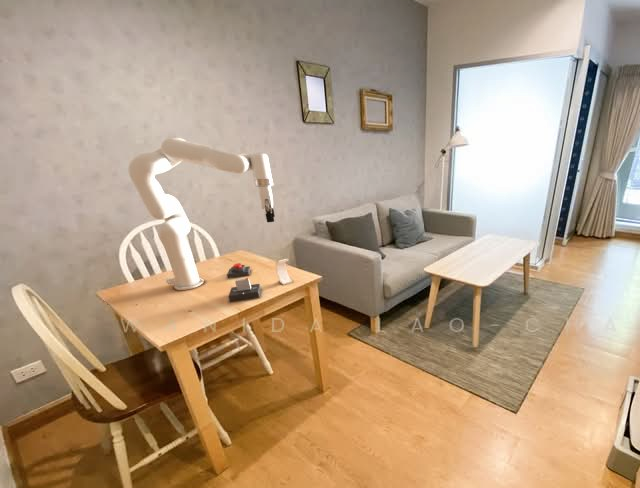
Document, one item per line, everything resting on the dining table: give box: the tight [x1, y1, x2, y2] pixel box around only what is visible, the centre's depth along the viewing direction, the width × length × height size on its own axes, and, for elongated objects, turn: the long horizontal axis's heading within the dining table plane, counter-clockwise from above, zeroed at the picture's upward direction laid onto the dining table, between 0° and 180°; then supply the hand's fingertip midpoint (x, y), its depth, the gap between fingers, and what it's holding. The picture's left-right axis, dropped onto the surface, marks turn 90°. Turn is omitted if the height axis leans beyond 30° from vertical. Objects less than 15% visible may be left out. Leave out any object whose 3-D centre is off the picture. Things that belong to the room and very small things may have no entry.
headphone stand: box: [275, 258, 293, 286], centre depth 160 cm, size 5×6×12 cm
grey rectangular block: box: [234, 277, 252, 291], centre depth 147 cm, size 6×2×5 cm, turn 107°
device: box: [228, 283, 262, 303], centre depth 149 cm, size 12×10×3 cm
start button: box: [233, 262, 242, 269], centre depth 170 cm, size 4×4×2 cm
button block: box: [226, 264, 252, 279], centre depth 171 cm, size 10×8×4 cm
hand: (271, 219), depth 158 cm, fingers open, 9 cm apart
